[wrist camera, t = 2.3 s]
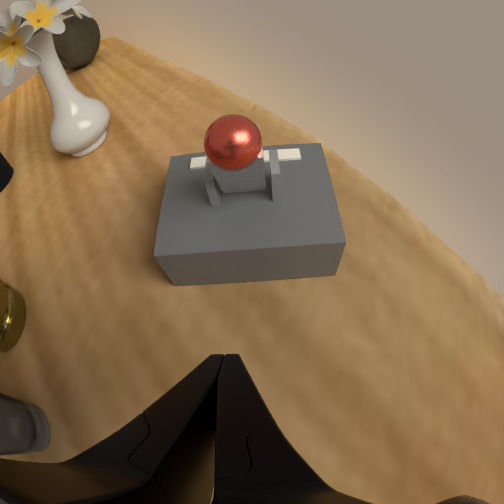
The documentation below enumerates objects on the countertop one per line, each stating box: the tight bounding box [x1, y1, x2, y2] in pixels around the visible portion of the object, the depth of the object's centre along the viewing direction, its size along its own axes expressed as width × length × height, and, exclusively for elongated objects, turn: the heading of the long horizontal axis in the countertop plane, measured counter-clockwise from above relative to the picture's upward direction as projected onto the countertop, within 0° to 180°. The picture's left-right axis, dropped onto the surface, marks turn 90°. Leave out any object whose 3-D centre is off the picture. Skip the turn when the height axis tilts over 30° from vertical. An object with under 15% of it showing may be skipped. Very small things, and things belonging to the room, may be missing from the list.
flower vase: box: [0, 0, 110, 157], centre depth 26 cm, size 13×18×25 cm
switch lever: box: [204, 115, 266, 194], centre depth 18 cm, size 3×3×8 cm
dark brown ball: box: [52, 15, 100, 70], centre depth 51 cm, size 14×14×15 cm
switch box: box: [153, 143, 346, 286], centre depth 23 cm, size 10×13×8 cm
